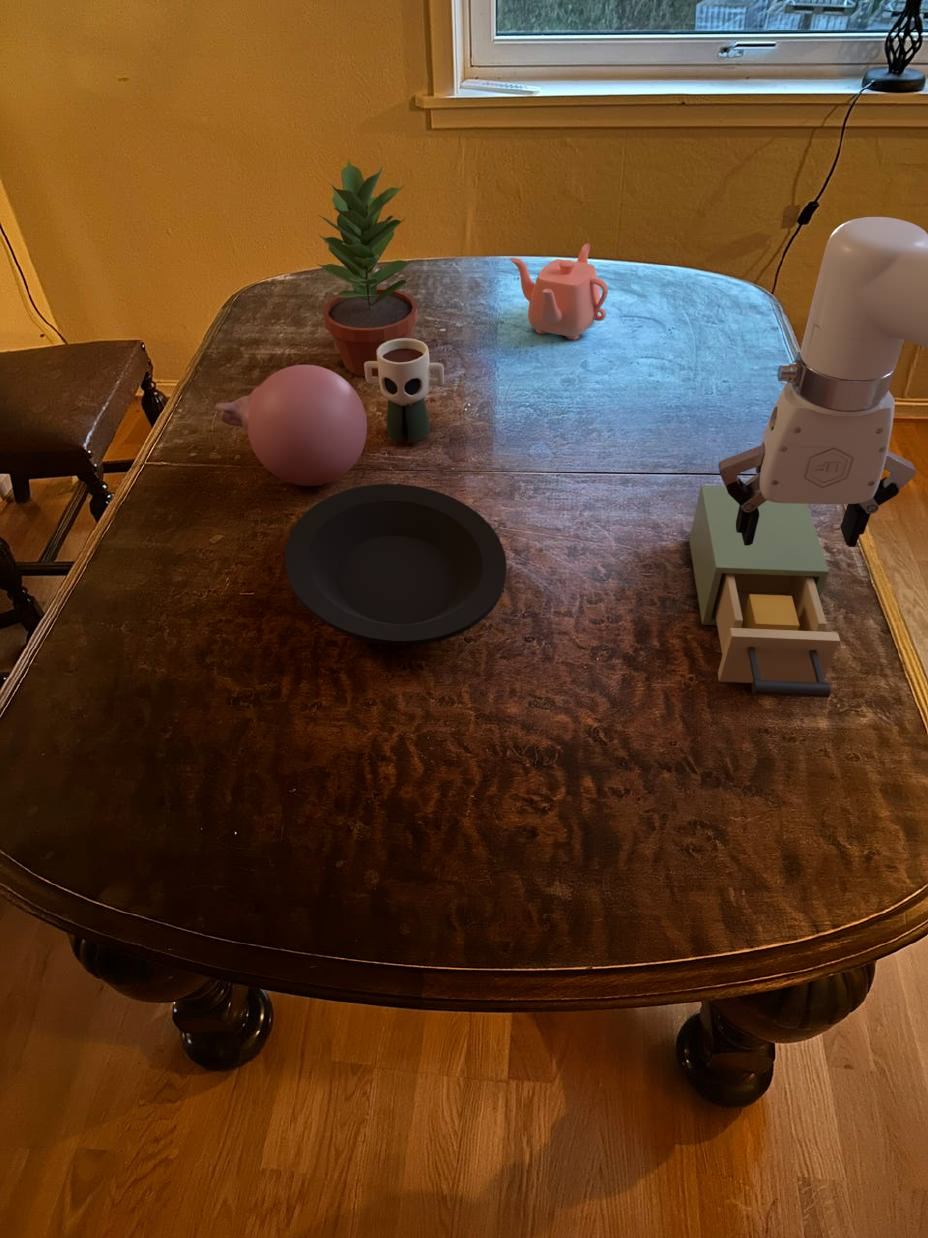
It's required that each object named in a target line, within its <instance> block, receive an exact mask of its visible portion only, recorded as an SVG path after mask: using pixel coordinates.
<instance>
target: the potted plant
mask: <svg viewBox="0 0 928 1238" xmlns="http://www.w3.org/2000/svg"><path fill="white" fill-rule="evenodd" d="M382 170H383V166H381V167H380V169H379V171H378V172H377V173H375V174H372V175H370V176H368V177H367V178H366V179H364V176H363V173H362V170H361V169H360V168H359V167H357V166H355V165H352V164H351V161H350V160H349V158H347V165H346V166H345V167H344V168H343V169H342V170H341V173H340V174H341V175H340V176H341V183H342V189H339V188H336V186H334V185H333V184H331V187H332V191H333V197H332V198H331V201H332V203H333V205H334V207H333V209H334V210H335V211H336V212H338V215H337V217H336V223H337V224H335V223H334V222H332V221H331V220H329V219H327V218H326V217H324V216H321V215H319V217H320V218H321V219H323V220H324V221H325V222H327V223H328V224H329V225H330V226H332V227H333V228H334V229H335V230H337V231H338V232H339V234H340V236H341V238H337V237H334V236H328V237H324V236H323V235H320V234H318V236H319V237H320V238H321V239H322V240H323V241H324V243H325V244H326V245H328V248H327V249H328V251H329V252H330V253H331V254H332V255H333V256H334V257H335V258H336V259H337V260H338V261H339V262H340V263H341V264H342V265H343V266H341V265H338V264H333V263H328V264H323V265H322V264H319V263H316V265H317V266H319V267H320V268H321V270H322V271H323V272H325V273H327V274H329V275H332V276H334V277H335V278H338V279H340V280H342V281H344V282H346V283H348V284H350V285H351V287H352V288H353V289H351V290H341V291H339V292H338V293H337V294H338V295H336V296H334V297H332V298H331V299H330V300H329V301H327V302H326V304H325V305H324V307H323V309H322V311H323V317H324V325H325V329H326V330H327V331H328V332H329V333H330V334H331V337H332V338H333V341H334V343H335V346H336V348H337V351H338V353H339V356H340V358H341V361H342V363H343V365H344V368H346V369H347V371H349V372H350V373H353V374H354V375H356V376H362V377H365V369H364V364H365V362H368V361H377V349H378V348H379V346H380V345H382V344H383V343H385V342H387V341H390V340H394V339H401V338H409V339H412V336H413V332H414V327H416V325H417V323H418V320H419V312H418V305H417V301H416V299H414V298H413V296H411V295H410V294H408V293H405V292H403V291H401V290H399V289H400V288H402V287H403V286H405V285H406V284H408V283H409V282H411V281H412V279H409V280H408V281H407V280H406V279H401V280H398V281H397V282H395V283H393V284H391V285H390V286H387V287H378V285H380V284H382V283H383V282H384V281H386V280H388V279H390V278H391V277H392V276H394V275H396V274H398V273H399V272H400V271H402V270H404V269H406V268H407V267H409V265H410V264H411V263H414V261H415V260H414V259H413V260H411V261H409V262H407V261H405V260H401V259H400V260H399V259H397V260H394V261H392V262H390V263H387V264H386V265H384V266H382V267H381V268H379V269H378V270H376V272H374V268H375V267H376V265H377V263H378V262H379V260H380V259H381V258H382V256H383V254H384V253H385V251H386V249H387V248H388V246H389V245H390V243H391V242H392V239H393V238H394V236H395V230H396V228H397V227H398V226H399V225H401V223H403V222H404V221H405V220H406V218H407V217H405V218H403V219H402V220H399V219H393V218H394V217H395V215H389V216H388V217H386V219H385V220H382V221H379V219H380V216H381V214H382V211H383V208H384V207H385V205H387V203H389V202H390V201H391V200H392V199H393V198H395V196H396V195H397V194H398V193H399V192H400V191H401V190H402V189H403V188H404V187H405V186H406V184H403V185H402V186H401V187H389V188H388V189H387V188H386V190H384V191H381V192H380V193H379V194H378V196H373V197H372V194H373V193H374V191H375V188H376V186H377V183H378V181H379V179H380V177H381V175H382V172H383V171H382ZM371 370H372V377H379V374H378V368H372V369H371Z"/></svg>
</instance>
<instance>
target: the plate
mask: <svg viewBox="0 0 928 1238" xmlns="http://www.w3.org/2000/svg"><path fill="white" fill-rule="evenodd" d="M284 567H285V572H286V575H287V579H288V583H289V585H290V587H291V590H292V592H293V593H294V595H295V597H296V598H297V600H298V601H299V602H300V604H302V606H303V607H304V608H305V609H306V610H307V611H308V612H309V613H310V614H311V615H312V616H313V617H315V618H316V619H317V620H318V621H320V622H321V623H323V624H324V625H325V626H327V627H329V628H331V629H333V630H334V631H336V632H339V633H341V634H343V635H345V636H347V637H351V638H353V639H357V640H360V641H364V642H368V643H372V644H378V645H385V646H386V645H387V646H401V647H404V646H405V647H407V646H420V645H427V644H433V643H438V642H441V641H445V640H448V639H451V638H453V637H456V636H458V635H461V634H462V633H464V632H466V631H468V630H470V629H472V628H473V627H475V626H476V625H478V624H479V623H480V622H481V621H482V620H484V619H485V618H486V617H487V616H488V615H489V614H490V613H491V612H492V611H493V610H494V608H495V607H496V605H497V604H498V602H499V601H500V599H501V597H502V596H503V595H502V594H503V592H504V590H505V586H506V582H507V568H508V567H507V558H506V553H505V549H504V546H503V544H502V542H501V539H500V537H499V536H498V534H497V533H496V531H495V530H494V528H493V527H492V526H491V524H490V523H489V522H487V520H486V519H485V518H484V517H483V516H481V514H479V512H477V511H476V510H475V509H473V508H471V507H470V506H468V505H467V504H465V503H464V502H462V501H460V500H458V499H456V498H454V497H452V496H450V495H448V494H445V493H443V492H440V491H437V490H433V489H430V488H428V487H427V488H426V487H421V486H417V485H410V484H403V483H401V484H400V483H379V484H367V485H362V486H357V487H352V488H349V489H345V490H343V491H339V492H337V493H335V494H332V495H330V496H328V497H326V498H324V499H322V500H321V501H319V502H318V503H316V504H315V505H313V506H311V508H309V509H308V510H307V511H306V512H305V513H304V514H303V515H301V517H300V518H299V519H298V520H297V522H296V523H295V525H294V526H293V527H292V529H291V531H290V534H289V536H288V538H287V540H286V543H285V548H284Z"/></svg>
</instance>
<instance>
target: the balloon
mask: <svg viewBox="0 0 928 1238" xmlns="http://www.w3.org/2000/svg"><path fill="white" fill-rule="evenodd" d="M214 410H215V411H216V412H217V413H219V414H220V416H219V418H220V420H221V421H222V422H223V423H224V424H227V425H230V426H233V427H240V428H243V429H244V431H245V433H246V434H247V436H248V440H249V443H250V446H251V449H252V451H253V453H254V455H255V456H256V458H257V460H259V462H260V463H261V465H262V466H263V467H264V468H266V469H267V470H268V471H269V472H270V473H271V474H272V475H274V476H275V477H277V478H278V479H281V480H283V481H285V482H286V483H289V484H293V485H297V486H303V487H312V486H313V487H315V486H321V485H325V484H329V483H332V482H334V481H336V480H338V479H340V478H341V477H343V476H344V475H345V474H347V473H348V472H349V471H350V470H351V469H352V468H353V467H354V465H356V463H357V462H358V460H359V459H360V457H361V455H362V453H363V450H364V448H365V445H366V441H367V435H368V421H367V420H368V418H367V414H366V411H365V407H364V404H363V402H362V400H361V397H360V396H359V394H358V392H357V391H356V390H355V389H354V388H353V386H352V385H351V384H350V383H349V382H348V381H347V380H346V379H345V378H344V377H342V376H340V374H338V373H336V372H334V371H332V370H330V369H328V368H325V367H323V366H319V365H314V364H297V365H292V366H286V367H285V368H282V369H280V370H278V371H276V372H274V373H273V374H271V375H269V376H268V377H267V378H266V379H265V380H264V381H263V382H261V384H260V385H259V386H257V387H255V388H254V389H253V390H252V392H251V393H250V394H249V395H244V396H241V397H239V398H237V399H235V400H234V401H229V402H222V403H221V402H218V403H216V404H215V406H214Z"/></svg>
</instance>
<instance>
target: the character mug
mask: <svg viewBox="0 0 928 1238" xmlns="http://www.w3.org/2000/svg"><path fill="white" fill-rule="evenodd" d="M372 368H378V374H379V376H376V377H372V370H371V369H372ZM364 369H365V376H364V377H365V381H366V384H371V385H379V391H380V393H381V395H382V396H383V397H384V398H385V399H386V400H387V408H386V409H387V410H386V432H387V433H386V435H387V436H388V437H389V438H390V439H391V440H392V441H396V442H399V443H403V437H407V439H408V443H415V442H419V441H422V440H423V439H425V438H427V437H428V435H429V433H430V431H431V425H430V419H429V413H428V409H427V405H426V404H427V403H426V399H425V398H426V397H427V396H428V394H429V392H430V390H431V388H432V387H433V386H435V387H440V386H443V385H444V383H445V368H444V365H443V364H442V363H441V362H430V353H429V346H428V345H427V344H426V343H424V342H423V341H421V340H419V339H416V338H411V339H409V338H401V339H394V340H390V341H387V342H385V343H383V344H382V345H380V346H379V348H378V349H377V361H368V362H365V364H364ZM431 371H436V377H435V378H433V377H432V378H431Z"/></svg>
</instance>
